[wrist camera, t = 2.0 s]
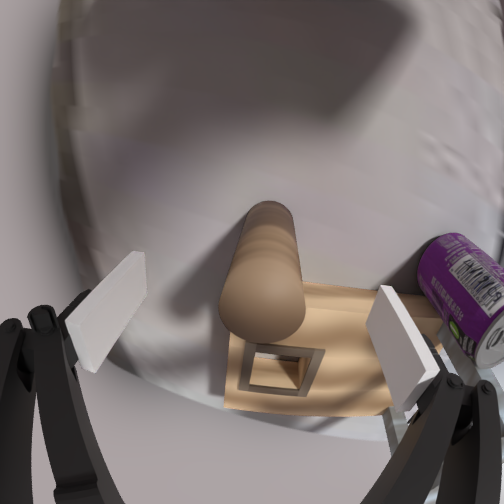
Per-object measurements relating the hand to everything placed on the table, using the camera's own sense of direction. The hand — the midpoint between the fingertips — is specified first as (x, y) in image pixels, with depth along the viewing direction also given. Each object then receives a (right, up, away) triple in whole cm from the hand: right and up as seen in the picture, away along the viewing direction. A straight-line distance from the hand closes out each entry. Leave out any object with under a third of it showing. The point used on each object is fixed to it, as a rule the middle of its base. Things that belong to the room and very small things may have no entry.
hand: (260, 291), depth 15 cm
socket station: (+8, -8, +14) cm, 18 cm away
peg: (+1, +4, +9) cm, 10 cm away
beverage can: (+19, +1, +9) cm, 21 cm away
